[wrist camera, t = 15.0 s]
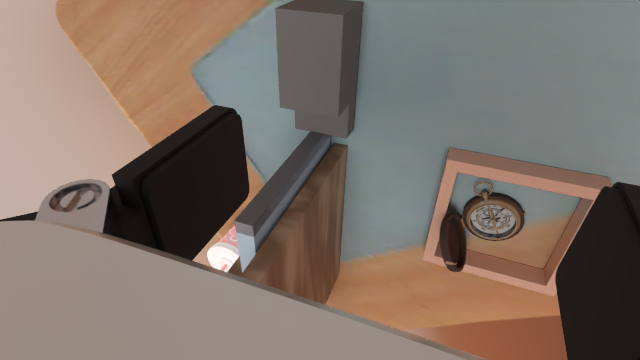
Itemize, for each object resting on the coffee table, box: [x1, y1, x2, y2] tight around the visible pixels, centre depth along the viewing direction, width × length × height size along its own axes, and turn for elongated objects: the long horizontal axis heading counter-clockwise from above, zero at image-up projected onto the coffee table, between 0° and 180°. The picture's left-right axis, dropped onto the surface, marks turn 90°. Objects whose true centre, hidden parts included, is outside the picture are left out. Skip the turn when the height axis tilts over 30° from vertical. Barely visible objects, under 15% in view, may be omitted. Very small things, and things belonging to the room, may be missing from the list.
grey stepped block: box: [275, 0, 363, 138], centre depth 37 cm, size 6×13×6 cm, turn 178°
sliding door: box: [234, 131, 331, 273], centre depth 41 cm, size 2×16×18 cm, turn 178°
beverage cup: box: [207, 226, 240, 272], centre depth 51 cm, size 6×6×14 cm
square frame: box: [422, 148, 612, 296], centre depth 41 cm, size 14×14×2 cm
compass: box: [439, 182, 525, 272], centre depth 39 cm, size 8×8×7 cm
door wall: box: [228, 143, 348, 305], centre depth 42 cm, size 6×22×23 cm, turn 178°
